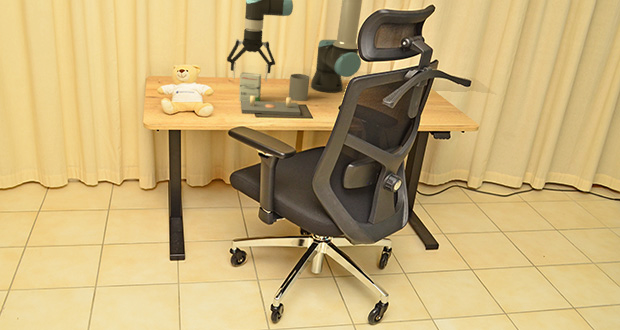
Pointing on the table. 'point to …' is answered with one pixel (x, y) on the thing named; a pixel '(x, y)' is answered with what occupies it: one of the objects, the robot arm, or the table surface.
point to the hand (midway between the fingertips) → (249, 79)
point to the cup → (299, 87)
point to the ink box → (249, 86)
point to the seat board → (270, 107)
